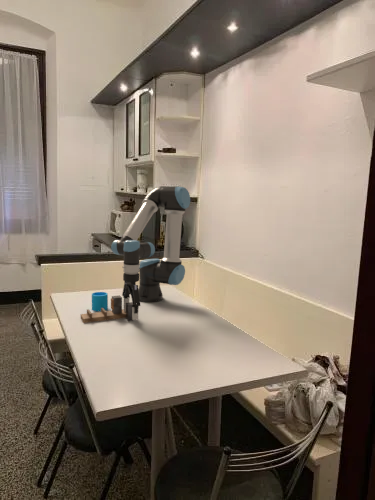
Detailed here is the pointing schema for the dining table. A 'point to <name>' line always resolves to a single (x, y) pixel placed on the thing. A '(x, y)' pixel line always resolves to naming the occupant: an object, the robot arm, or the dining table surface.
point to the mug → (99, 301)
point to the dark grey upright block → (129, 311)
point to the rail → (106, 312)
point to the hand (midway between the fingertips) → (130, 315)
